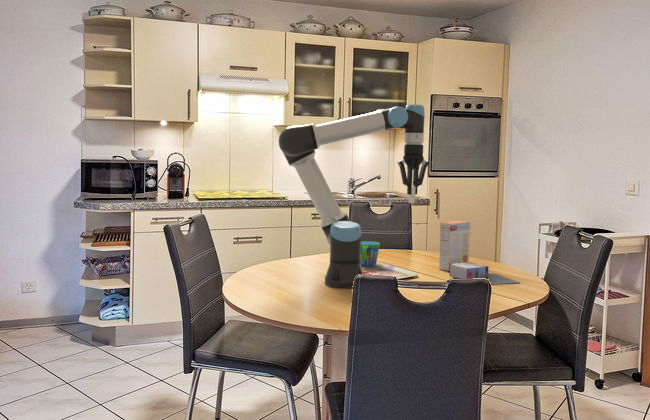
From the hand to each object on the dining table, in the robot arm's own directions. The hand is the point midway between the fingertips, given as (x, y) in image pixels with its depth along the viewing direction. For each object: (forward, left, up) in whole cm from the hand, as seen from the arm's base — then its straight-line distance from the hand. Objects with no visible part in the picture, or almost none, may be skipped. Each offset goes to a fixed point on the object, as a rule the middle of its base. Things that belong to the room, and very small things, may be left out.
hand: (411, 202), depth 239 cm
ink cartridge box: (+17, -9, -28) cm, 34 cm away
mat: (+29, -10, -30) cm, 43 cm away
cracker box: (+26, +12, -31) cm, 42 cm away
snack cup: (-9, +26, -31) cm, 41 cm away
